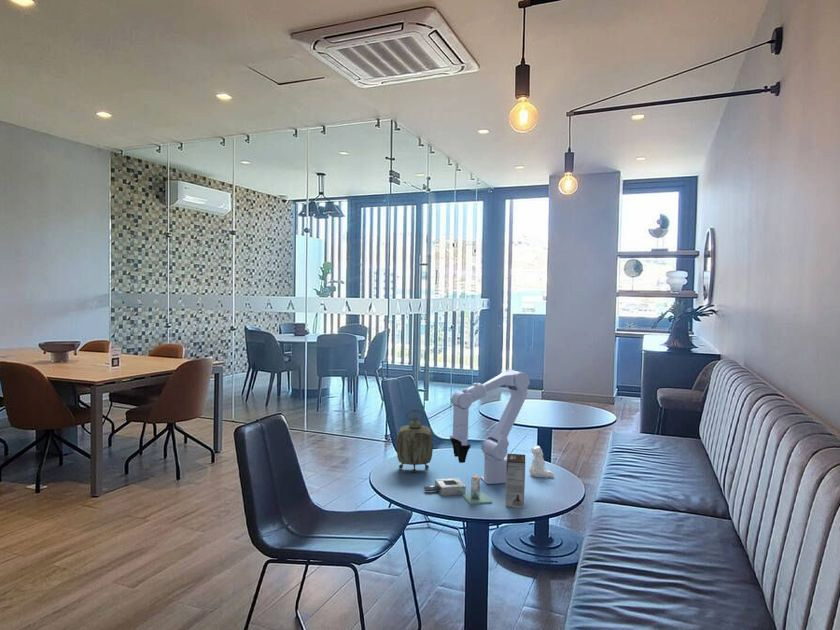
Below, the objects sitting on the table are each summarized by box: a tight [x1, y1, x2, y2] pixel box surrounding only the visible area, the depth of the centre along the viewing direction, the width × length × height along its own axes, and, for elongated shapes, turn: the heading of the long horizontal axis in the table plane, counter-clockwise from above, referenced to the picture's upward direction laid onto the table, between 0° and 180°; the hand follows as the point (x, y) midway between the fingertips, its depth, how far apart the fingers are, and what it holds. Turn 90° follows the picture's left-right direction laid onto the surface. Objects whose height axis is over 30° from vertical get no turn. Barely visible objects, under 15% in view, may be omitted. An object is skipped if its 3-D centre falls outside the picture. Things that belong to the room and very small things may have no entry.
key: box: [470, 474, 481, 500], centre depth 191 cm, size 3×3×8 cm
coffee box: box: [505, 453, 526, 509], centre depth 189 cm, size 9×6×16 cm
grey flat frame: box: [423, 477, 467, 497], centre depth 199 cm, size 14×9×3 cm, turn 104°
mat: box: [462, 492, 493, 506], centre depth 191 cm, size 8×8×1 cm
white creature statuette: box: [528, 445, 555, 479], centre depth 220 cm, size 10×9×12 cm
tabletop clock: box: [396, 409, 434, 474], centre depth 221 cm, size 14×9×25 cm, turn 92°
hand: (459, 459), depth 205 cm, fingers open, 7 cm apart
